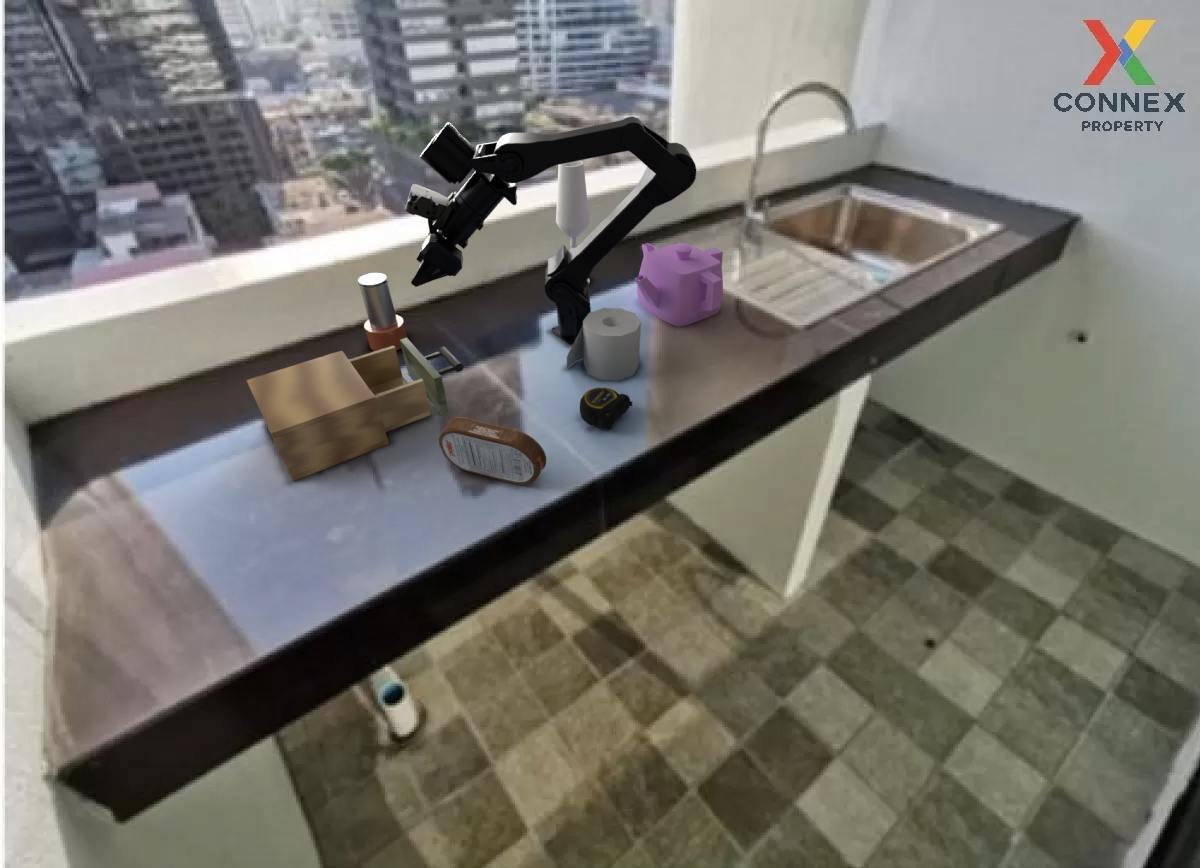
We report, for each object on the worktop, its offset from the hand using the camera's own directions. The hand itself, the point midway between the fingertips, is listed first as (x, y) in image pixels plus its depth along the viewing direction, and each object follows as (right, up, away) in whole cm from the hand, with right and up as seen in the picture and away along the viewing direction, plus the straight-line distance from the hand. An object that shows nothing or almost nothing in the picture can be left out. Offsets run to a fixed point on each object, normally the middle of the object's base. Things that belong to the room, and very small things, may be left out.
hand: (416, 272), depth 102 cm
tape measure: (+32, -25, -9) cm, 42 cm away
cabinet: (-10, -28, -12) cm, 32 cm away
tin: (+17, -33, -18) cm, 41 cm away
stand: (-7, -11, +8) cm, 15 cm away
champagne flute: (+26, +5, +27) cm, 38 cm away
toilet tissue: (+32, -16, +2) cm, 36 cm away
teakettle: (+46, -2, +18) cm, 50 cm away
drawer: (+1, -22, -7) cm, 23 cm away
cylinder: (-7, -8, +5) cm, 12 cm away
